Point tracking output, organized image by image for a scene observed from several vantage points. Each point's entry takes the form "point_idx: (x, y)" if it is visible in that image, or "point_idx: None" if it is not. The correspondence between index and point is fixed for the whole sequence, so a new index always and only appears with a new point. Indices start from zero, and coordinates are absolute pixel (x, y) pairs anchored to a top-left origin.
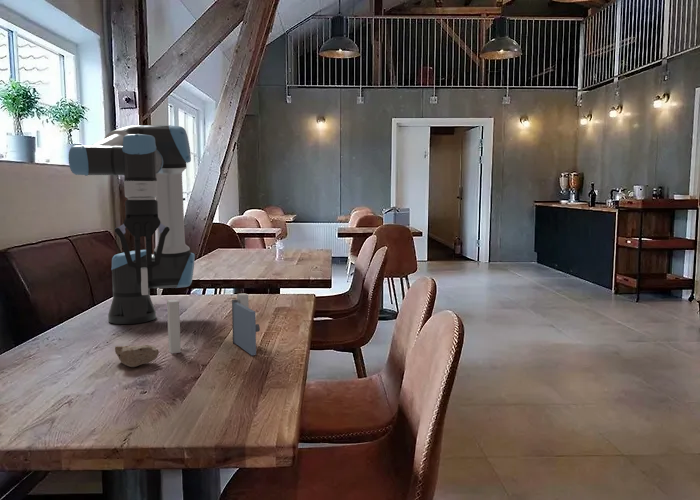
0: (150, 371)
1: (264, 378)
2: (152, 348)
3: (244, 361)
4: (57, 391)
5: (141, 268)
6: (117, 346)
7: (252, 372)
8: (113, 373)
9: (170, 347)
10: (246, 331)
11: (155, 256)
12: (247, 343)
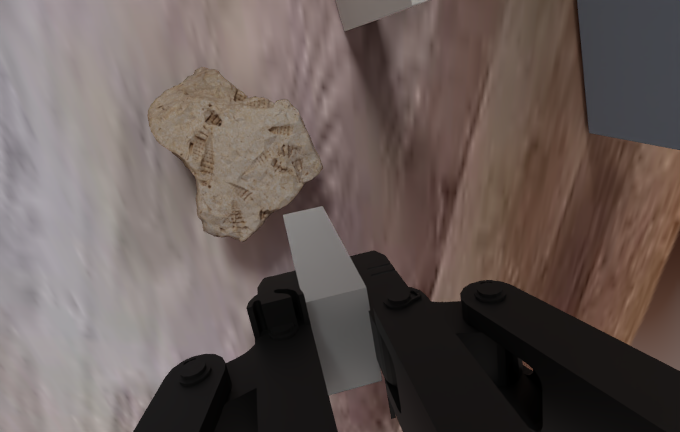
0: None
1: None
2: (300, 156)
3: (557, 174)
4: (77, 365)
5: (323, 359)
6: (160, 133)
7: (556, 272)
8: (189, 232)
9: (346, 20)
10: (641, 90)
11: (517, 353)
12: (608, 96)
